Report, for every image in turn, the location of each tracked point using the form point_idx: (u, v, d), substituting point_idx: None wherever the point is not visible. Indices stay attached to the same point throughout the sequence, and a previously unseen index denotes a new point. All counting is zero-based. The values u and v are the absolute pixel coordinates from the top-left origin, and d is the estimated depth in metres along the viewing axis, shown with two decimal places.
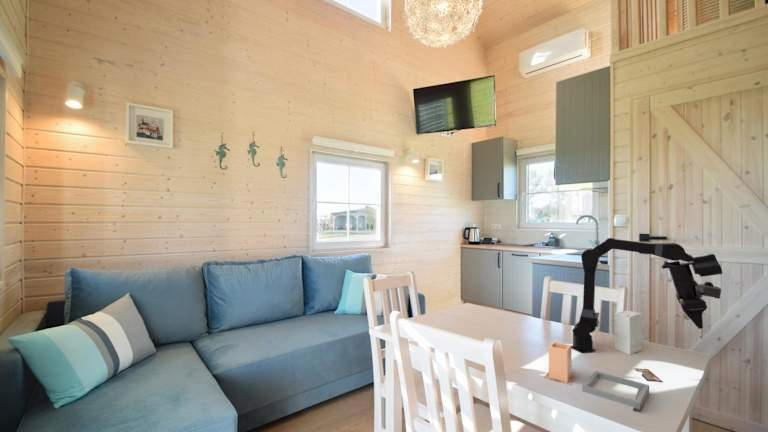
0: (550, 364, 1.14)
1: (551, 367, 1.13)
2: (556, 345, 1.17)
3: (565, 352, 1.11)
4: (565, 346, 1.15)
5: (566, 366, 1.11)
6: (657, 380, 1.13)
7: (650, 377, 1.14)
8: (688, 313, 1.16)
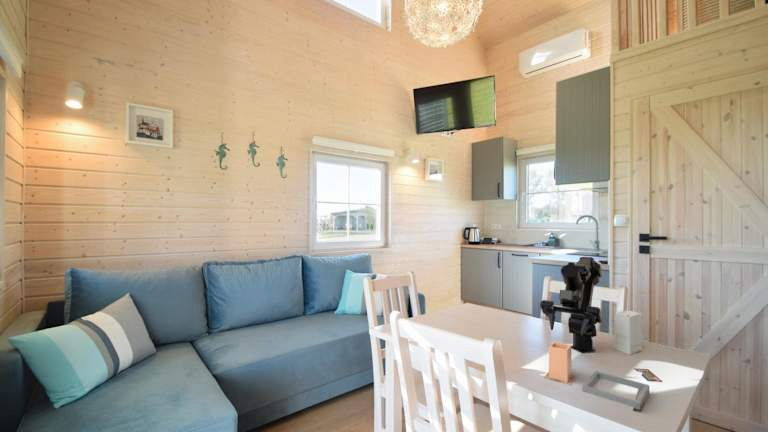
0: (550, 364, 1.14)
1: (551, 367, 1.13)
2: (556, 345, 1.17)
3: (565, 352, 1.11)
4: (565, 346, 1.15)
5: (566, 366, 1.11)
6: (657, 380, 1.13)
7: (650, 377, 1.14)
8: None
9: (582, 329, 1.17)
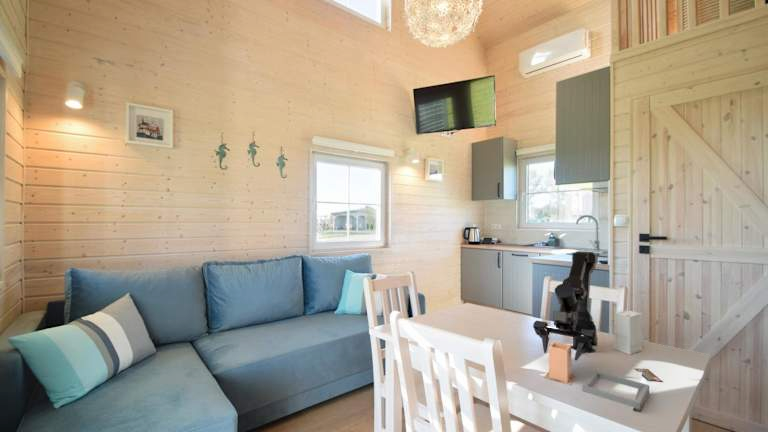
0: (550, 364, 1.14)
1: (551, 367, 1.13)
2: (556, 345, 1.17)
3: (565, 352, 1.11)
4: (565, 346, 1.15)
5: (566, 366, 1.11)
6: (657, 380, 1.13)
7: (650, 377, 1.14)
8: None
9: (577, 353, 1.11)
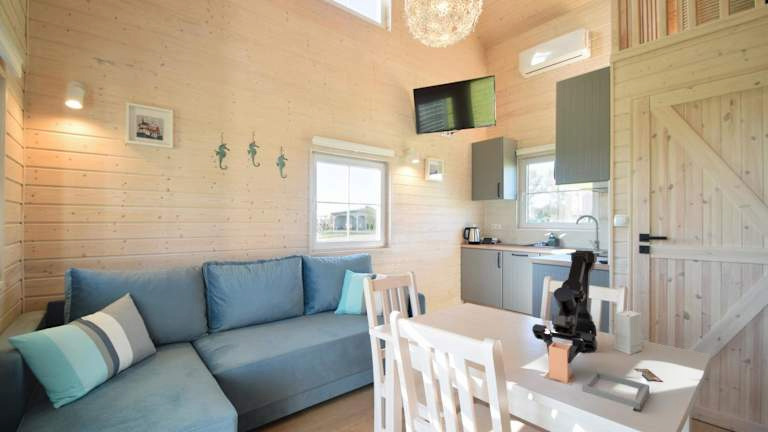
0: (550, 364, 1.14)
1: (551, 367, 1.13)
2: (556, 345, 1.17)
3: (565, 352, 1.11)
4: (565, 346, 1.15)
5: (566, 366, 1.11)
6: (657, 380, 1.13)
7: (650, 377, 1.14)
8: None
9: (570, 356, 1.12)
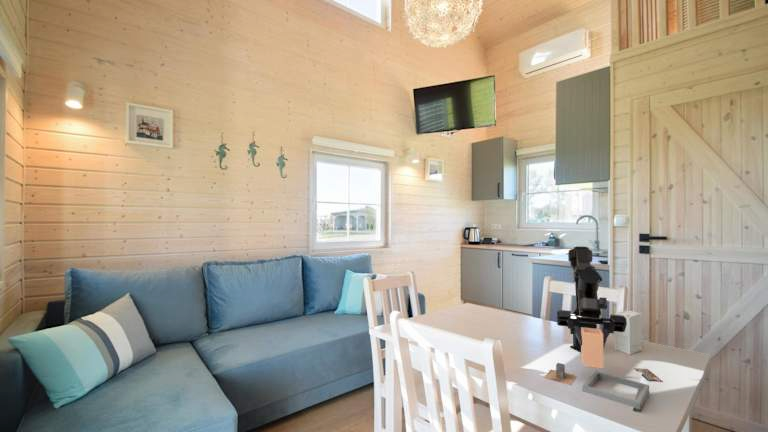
0: (584, 351, 1.06)
1: (585, 354, 1.06)
2: (584, 330, 1.10)
3: (601, 336, 1.04)
4: (595, 330, 1.09)
5: (602, 351, 1.04)
6: (657, 380, 1.13)
7: (650, 377, 1.14)
8: (573, 330, 1.13)
9: (604, 341, 1.06)
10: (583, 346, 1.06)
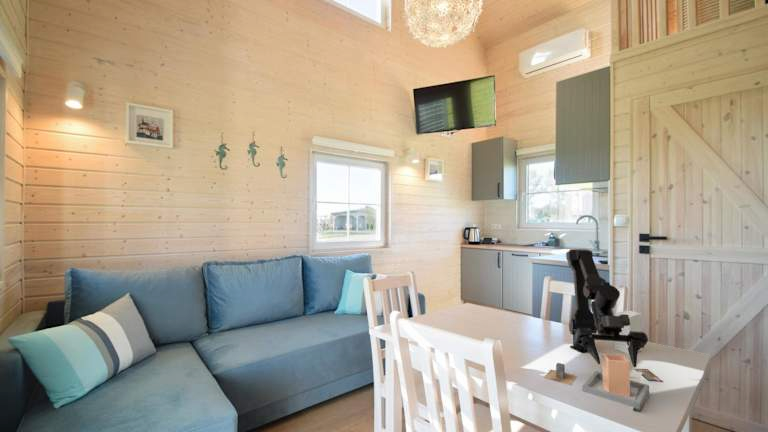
0: (610, 380, 1.03)
1: (611, 383, 1.03)
2: (606, 357, 1.07)
3: (627, 364, 1.02)
4: (617, 357, 1.06)
5: (628, 379, 1.02)
6: (658, 380, 1.13)
7: (650, 377, 1.14)
8: (587, 348, 1.10)
9: (635, 360, 1.03)
10: (609, 375, 1.03)
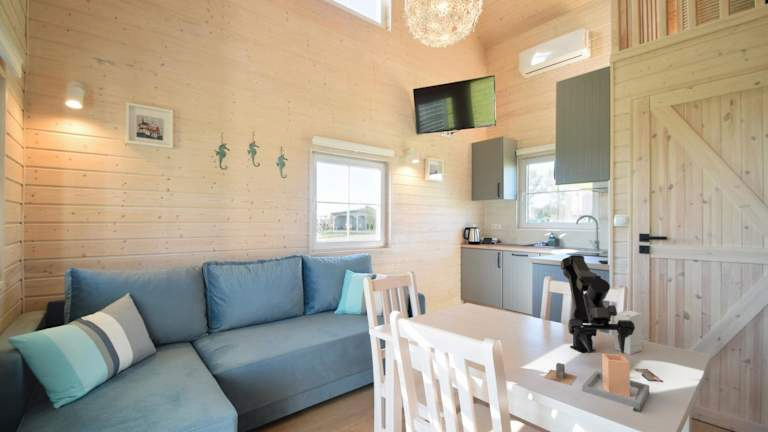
0: (610, 380, 1.03)
1: (611, 383, 1.03)
2: (606, 357, 1.07)
3: (627, 364, 1.02)
4: (617, 357, 1.06)
5: (628, 379, 1.02)
6: (658, 380, 1.13)
7: (651, 377, 1.14)
8: (579, 337, 1.20)
9: (622, 346, 1.12)
10: (609, 375, 1.03)
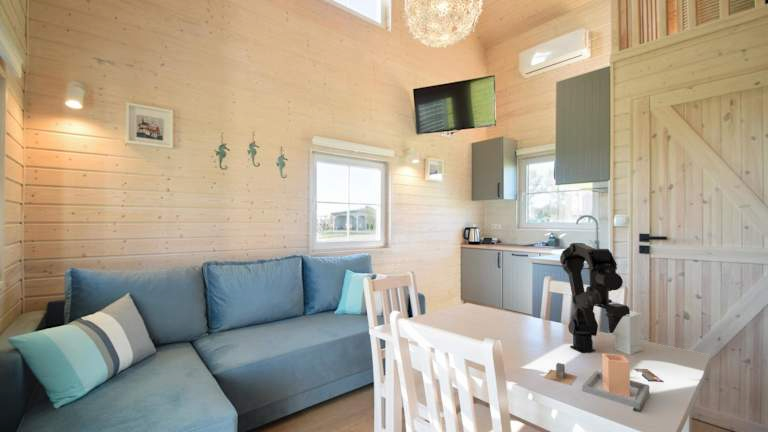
0: (610, 380, 1.03)
1: (611, 383, 1.03)
2: (606, 357, 1.07)
3: (627, 364, 1.02)
4: (617, 357, 1.06)
5: (628, 379, 1.02)
6: (658, 380, 1.13)
7: (651, 377, 1.14)
8: None
9: (609, 328, 1.19)
10: (609, 375, 1.03)
